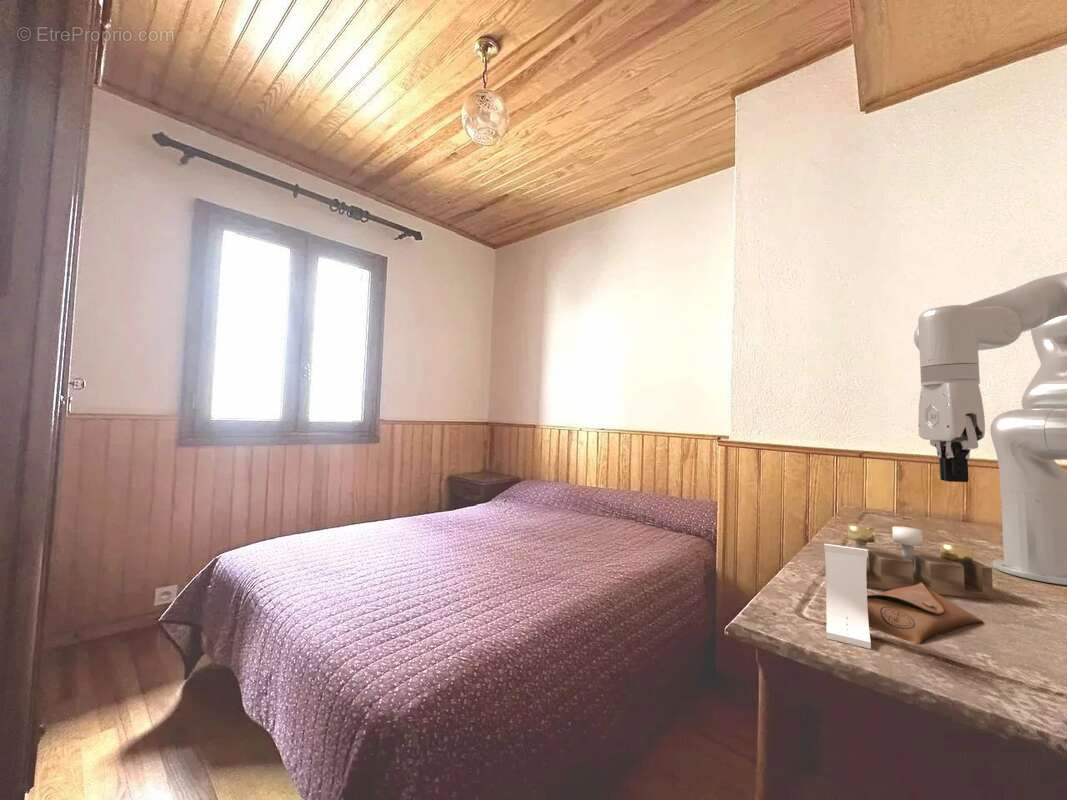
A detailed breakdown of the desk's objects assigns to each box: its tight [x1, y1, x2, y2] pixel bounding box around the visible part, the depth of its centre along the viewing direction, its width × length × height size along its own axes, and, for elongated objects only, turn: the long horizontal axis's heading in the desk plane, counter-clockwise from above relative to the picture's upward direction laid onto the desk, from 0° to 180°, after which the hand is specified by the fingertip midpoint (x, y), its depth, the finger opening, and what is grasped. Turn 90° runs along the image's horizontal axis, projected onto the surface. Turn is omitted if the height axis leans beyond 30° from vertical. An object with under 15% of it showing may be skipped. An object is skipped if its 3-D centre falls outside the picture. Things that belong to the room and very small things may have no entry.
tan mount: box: [837, 544, 994, 600], centre depth 76 cm, size 19×8×5 cm, turn 74°
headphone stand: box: [823, 543, 872, 650], centre depth 58 cm, size 5×6×12 cm
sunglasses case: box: [867, 582, 984, 645], centre depth 62 cm, size 18×7×7 cm
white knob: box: [892, 526, 924, 567], centre depth 77 cm, size 4×4×6 cm
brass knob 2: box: [939, 541, 974, 565], centre depth 75 cm, size 4×4×6 cm
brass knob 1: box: [847, 523, 876, 562], centre depth 79 cm, size 4×4×6 cm
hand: (954, 481), depth 76 cm, fingers closed
